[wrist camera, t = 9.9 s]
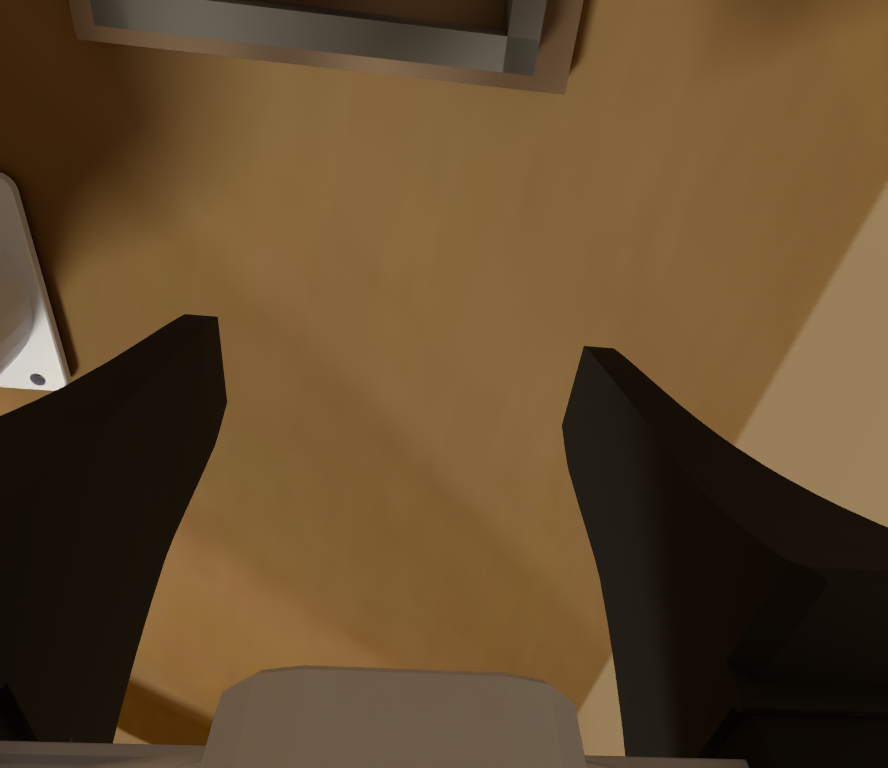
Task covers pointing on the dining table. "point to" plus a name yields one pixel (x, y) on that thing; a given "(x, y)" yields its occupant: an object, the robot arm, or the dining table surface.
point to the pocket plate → (358, 35)
